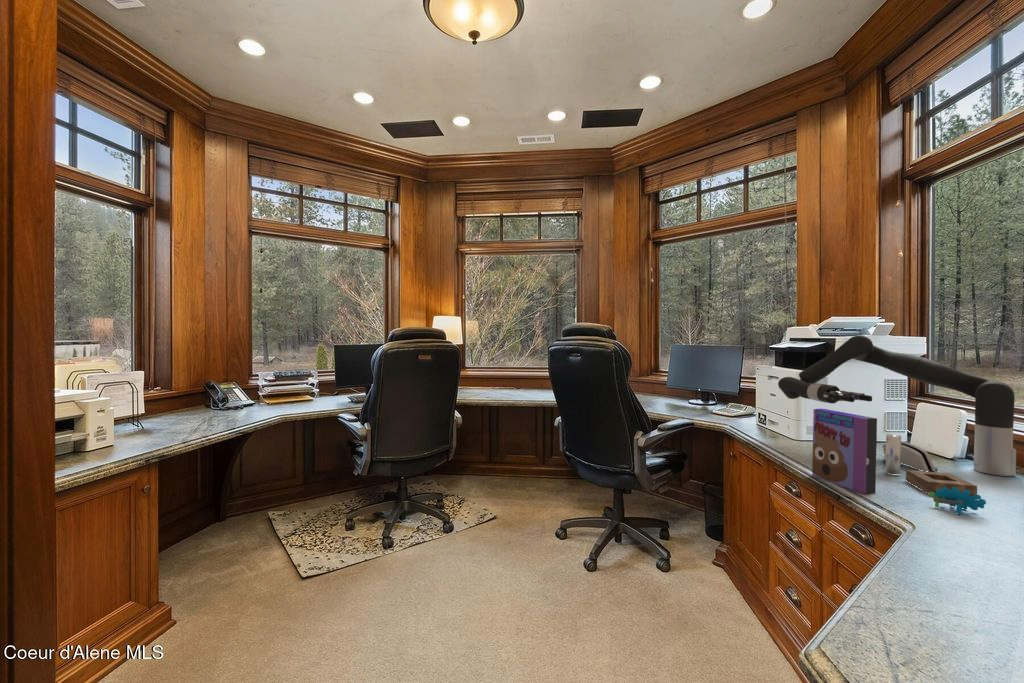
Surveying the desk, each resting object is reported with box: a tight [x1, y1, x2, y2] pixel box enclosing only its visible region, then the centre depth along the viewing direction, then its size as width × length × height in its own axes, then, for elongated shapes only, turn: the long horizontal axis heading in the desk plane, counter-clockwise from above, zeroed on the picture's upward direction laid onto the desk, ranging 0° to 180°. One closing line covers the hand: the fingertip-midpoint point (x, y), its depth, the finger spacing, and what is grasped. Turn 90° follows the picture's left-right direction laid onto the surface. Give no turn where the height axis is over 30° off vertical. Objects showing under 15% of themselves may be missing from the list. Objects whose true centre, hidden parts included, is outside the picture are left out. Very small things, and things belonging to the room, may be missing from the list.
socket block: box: [905, 469, 978, 496], centre depth 137 cm, size 12×12×4 cm
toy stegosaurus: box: [929, 487, 987, 515], centre depth 119 cm, size 11×6×10 cm
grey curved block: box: [882, 441, 939, 472], centre depth 162 cm, size 17×5×10 cm, turn 1°
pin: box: [884, 433, 902, 475], centre depth 152 cm, size 4×4×14 cm
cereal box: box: [811, 408, 878, 495], centre depth 141 cm, size 17×5×24 cm, turn 14°
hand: (862, 399), depth 162 cm, fingers open, 8 cm apart
